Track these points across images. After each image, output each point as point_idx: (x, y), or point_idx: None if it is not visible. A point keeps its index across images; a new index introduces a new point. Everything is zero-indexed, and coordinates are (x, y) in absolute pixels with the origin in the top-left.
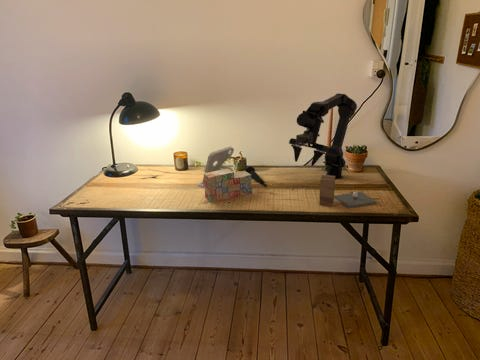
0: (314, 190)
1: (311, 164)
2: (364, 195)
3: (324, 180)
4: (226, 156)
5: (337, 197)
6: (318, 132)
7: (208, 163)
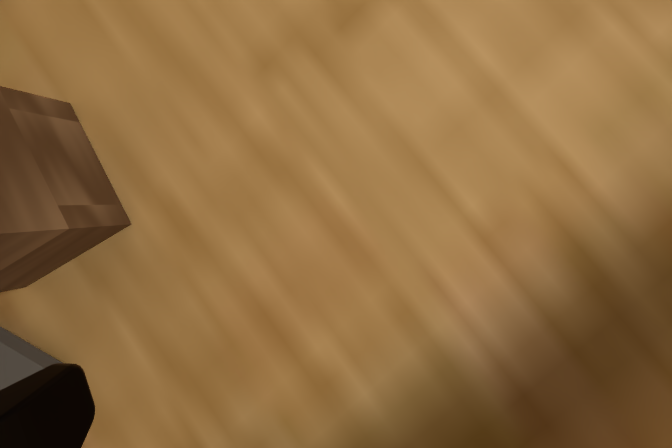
0: (345, 410)
1: (53, 374)
2: None
3: None
4: None
5: (8, 358)
6: None
7: None
